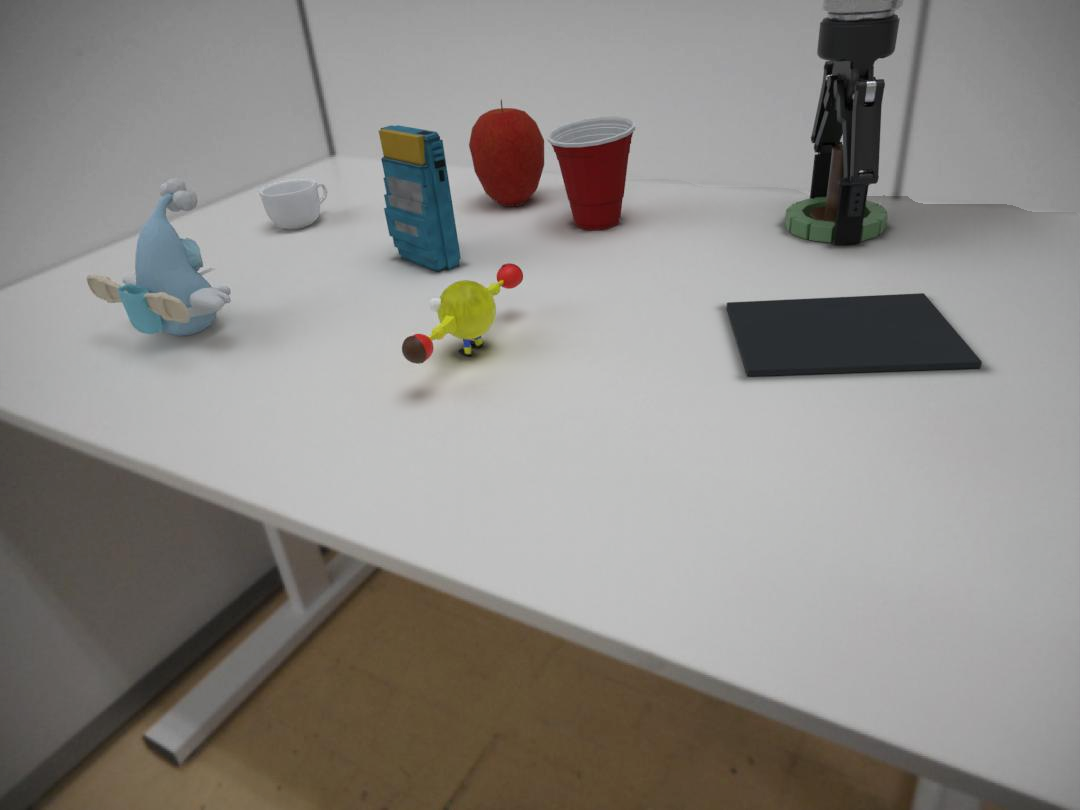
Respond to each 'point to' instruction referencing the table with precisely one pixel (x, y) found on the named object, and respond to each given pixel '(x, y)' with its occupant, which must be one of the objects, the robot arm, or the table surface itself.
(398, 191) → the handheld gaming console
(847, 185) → the robot arm
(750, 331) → the mat
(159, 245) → the toy figure
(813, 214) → the peg stand
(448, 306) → the toy figure
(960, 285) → the table surface
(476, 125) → the apple
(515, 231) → the table surface
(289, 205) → the teacup
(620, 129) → the plastic cup
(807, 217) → the ring
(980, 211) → the table surface
